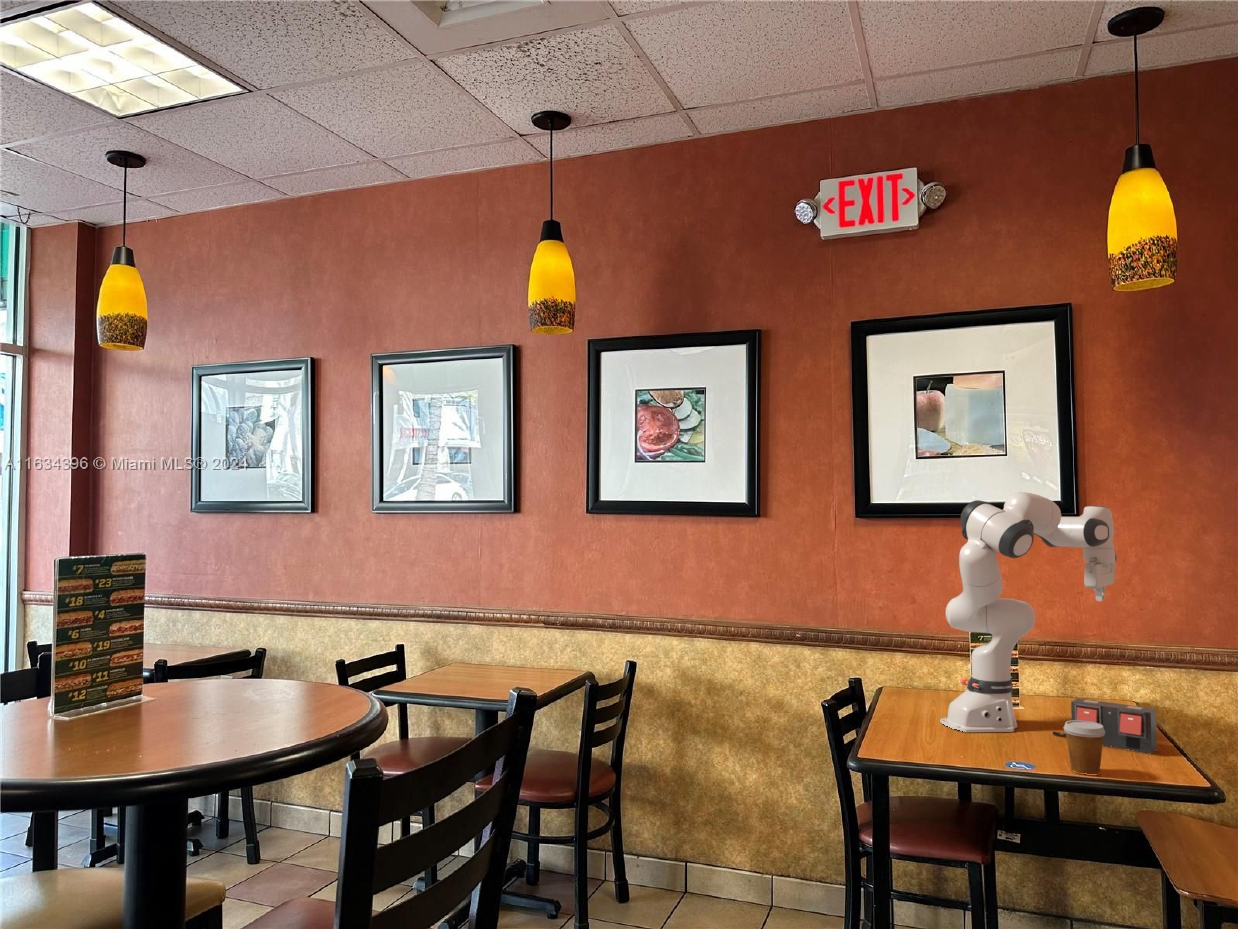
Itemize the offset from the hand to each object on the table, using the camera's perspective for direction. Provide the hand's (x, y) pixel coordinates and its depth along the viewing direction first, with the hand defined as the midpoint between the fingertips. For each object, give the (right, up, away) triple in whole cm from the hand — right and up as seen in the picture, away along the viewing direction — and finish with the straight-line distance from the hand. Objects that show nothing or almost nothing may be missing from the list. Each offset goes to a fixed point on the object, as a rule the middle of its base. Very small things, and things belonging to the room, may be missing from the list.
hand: (1100, 600), depth 277 cm
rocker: (-21, -31, -31) cm, 48 cm away
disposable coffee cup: (-34, -35, -54) cm, 73 cm away
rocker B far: (-13, -30, -38) cm, 50 cm away
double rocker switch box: (-15, -36, -29) cm, 49 cm away
